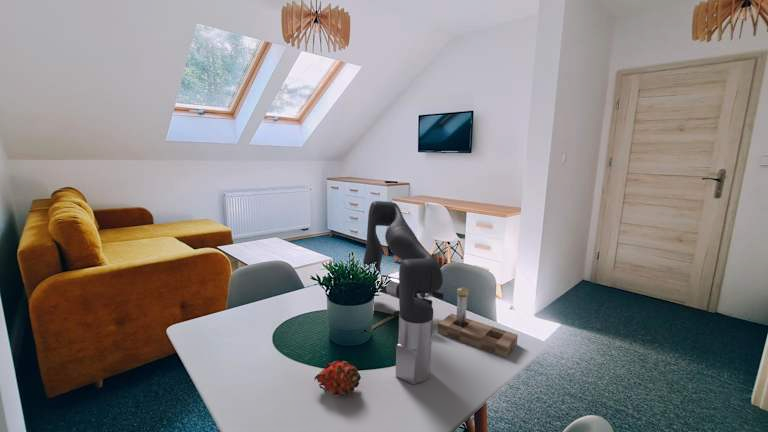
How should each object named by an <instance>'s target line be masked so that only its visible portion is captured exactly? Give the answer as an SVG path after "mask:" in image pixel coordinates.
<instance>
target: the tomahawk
mask: <svg viewBox="0 0 768 432" xmlns="http://www.w3.org/2000/svg"><path fill="white" fill-rule="evenodd" d="M399 312H400V310H396V311H393V313H392V314H391V315H390V316H387V317H385V318H384V319H383V320H380V321H378V322H377V323H375V324H374V325H372V326H371V327H372V328H371V329H372V330H371V333H370V334H373V332H374V330H375V329H376V328H378V327H380V326H382V325H384V324H385V323H387V322H389V321H391V320H392V319H394V318H396V317H397V316H399Z"/></svg>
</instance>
